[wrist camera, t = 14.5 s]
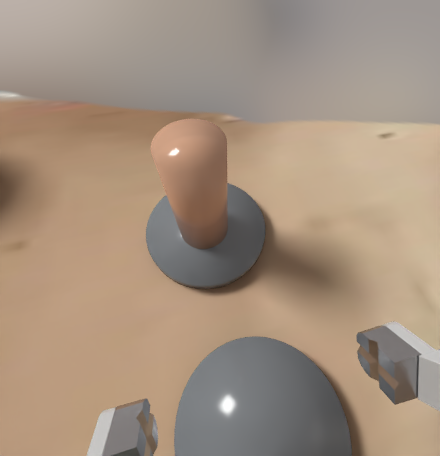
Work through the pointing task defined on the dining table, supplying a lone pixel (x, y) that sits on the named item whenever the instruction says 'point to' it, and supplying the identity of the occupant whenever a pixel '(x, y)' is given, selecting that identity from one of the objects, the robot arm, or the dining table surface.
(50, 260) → the dining table surface
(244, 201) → the dish
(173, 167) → the peach shift knob
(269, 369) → the dish
